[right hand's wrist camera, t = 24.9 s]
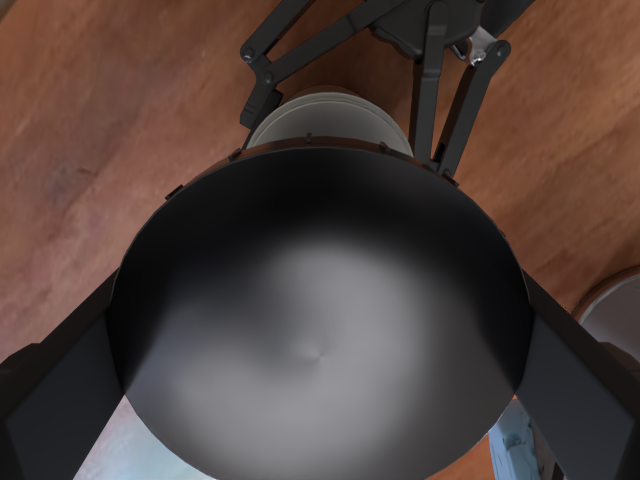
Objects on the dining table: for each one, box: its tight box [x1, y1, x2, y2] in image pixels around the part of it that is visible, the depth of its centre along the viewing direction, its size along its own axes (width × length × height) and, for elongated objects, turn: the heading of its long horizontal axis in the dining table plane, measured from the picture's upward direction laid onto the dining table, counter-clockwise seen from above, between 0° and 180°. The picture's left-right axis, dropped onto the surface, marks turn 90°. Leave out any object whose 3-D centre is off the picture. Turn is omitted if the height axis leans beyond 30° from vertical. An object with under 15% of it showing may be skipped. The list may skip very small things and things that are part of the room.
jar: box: [246, 85, 414, 158], centre depth 30 cm, size 10×10×16 cm
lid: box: [108, 133, 532, 480], centre depth 12 cm, size 11×11×2 cm
